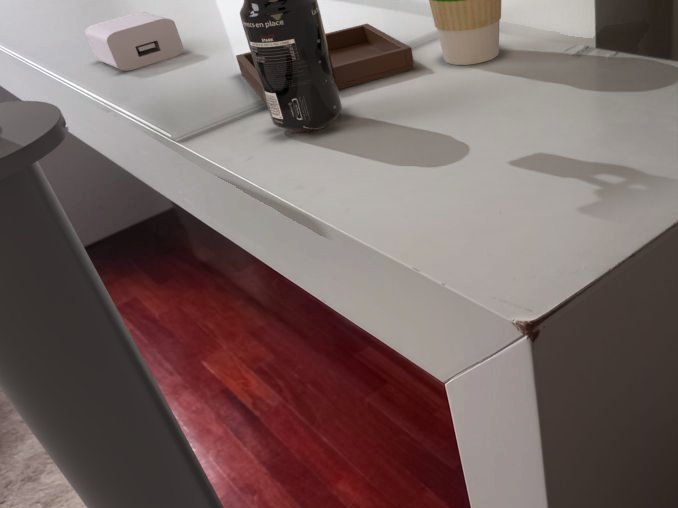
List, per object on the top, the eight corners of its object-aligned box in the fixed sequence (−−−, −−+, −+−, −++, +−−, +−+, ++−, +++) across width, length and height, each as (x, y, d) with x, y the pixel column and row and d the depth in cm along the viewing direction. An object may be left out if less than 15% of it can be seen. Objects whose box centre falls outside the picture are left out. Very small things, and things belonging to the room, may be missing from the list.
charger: (145, 39, 103) (185, 53, 94) (84, 57, 99) (120, 73, 90) (131, 5, 101) (172, 15, 91) (68, 22, 96) (104, 35, 87)
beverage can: (319, 105, 70) (286, -25, 63) (358, 118, 66) (327, -21, 59) (261, 128, 67) (219, -7, 60) (298, 143, 63) (258, 0, 55)
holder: (269, 108, 72) (262, 86, 70) (241, 75, 82) (235, 55, 81) (414, 69, 76) (411, 47, 75) (371, 42, 87) (367, 23, 85)
